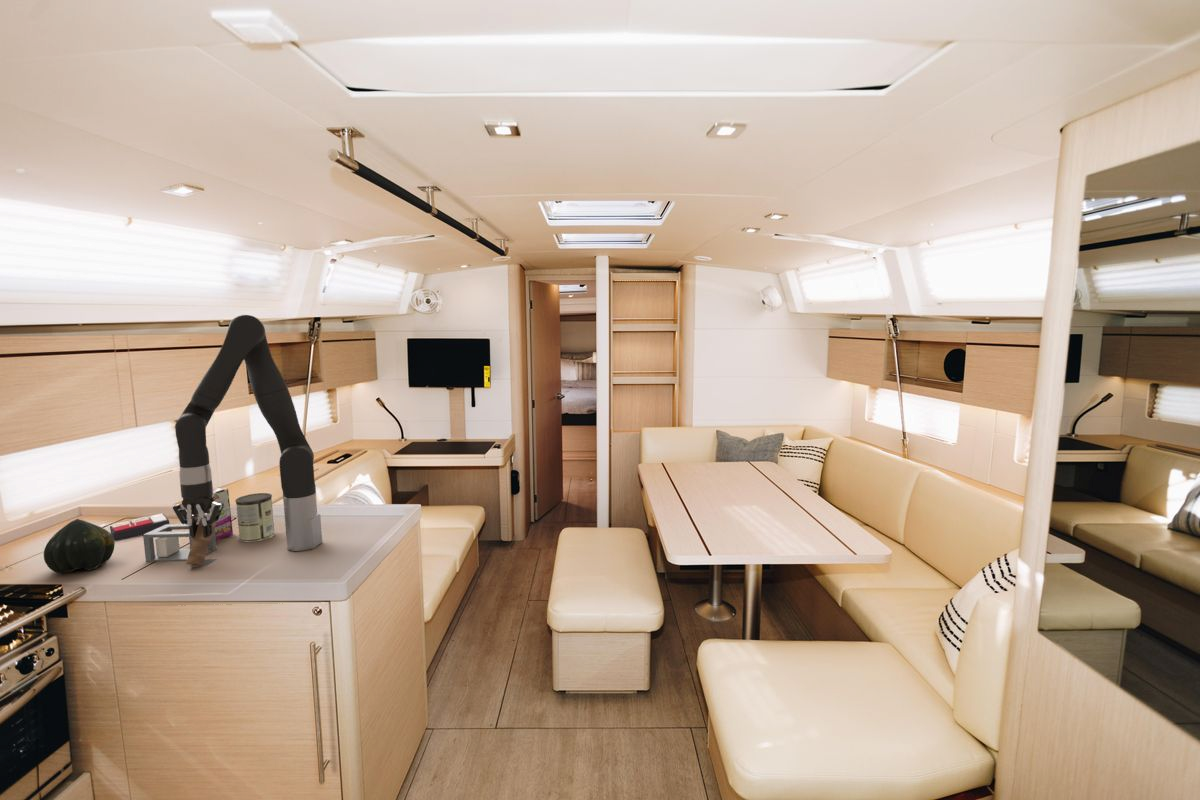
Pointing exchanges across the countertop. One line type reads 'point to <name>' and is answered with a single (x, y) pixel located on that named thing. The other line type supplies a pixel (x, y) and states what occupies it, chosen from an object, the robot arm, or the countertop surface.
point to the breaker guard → (167, 532)
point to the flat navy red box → (137, 526)
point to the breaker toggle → (167, 546)
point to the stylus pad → (206, 562)
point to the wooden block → (199, 546)
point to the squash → (78, 547)
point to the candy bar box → (222, 514)
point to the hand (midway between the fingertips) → (201, 536)
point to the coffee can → (255, 517)
